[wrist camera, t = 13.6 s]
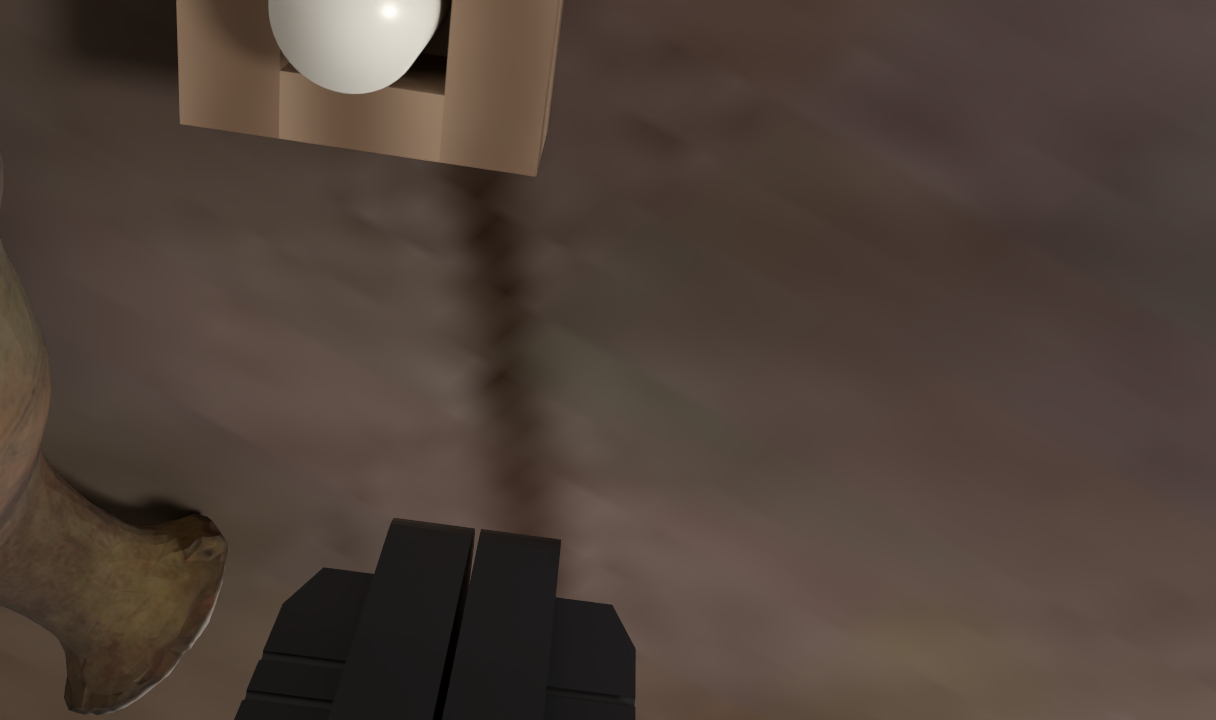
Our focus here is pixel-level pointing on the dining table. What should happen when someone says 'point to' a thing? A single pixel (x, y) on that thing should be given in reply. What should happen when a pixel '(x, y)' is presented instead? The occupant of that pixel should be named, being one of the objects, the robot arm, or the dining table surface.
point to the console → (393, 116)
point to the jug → (89, 544)
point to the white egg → (354, 39)
